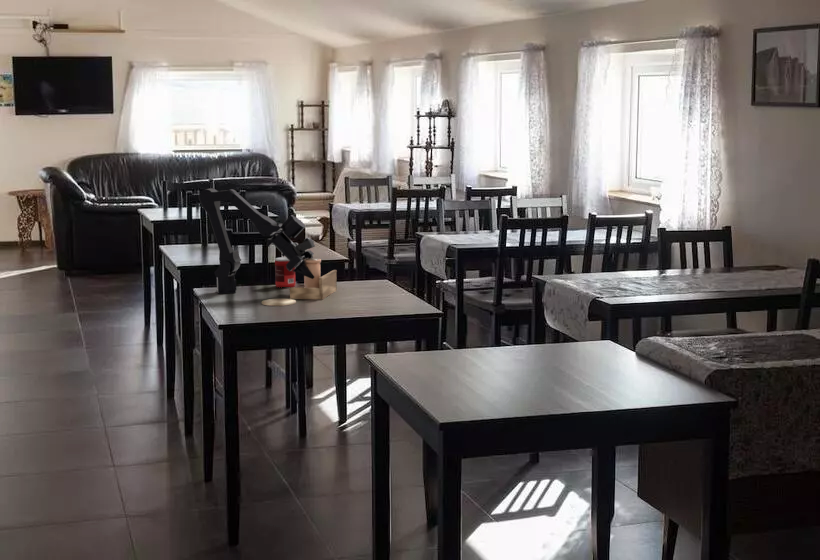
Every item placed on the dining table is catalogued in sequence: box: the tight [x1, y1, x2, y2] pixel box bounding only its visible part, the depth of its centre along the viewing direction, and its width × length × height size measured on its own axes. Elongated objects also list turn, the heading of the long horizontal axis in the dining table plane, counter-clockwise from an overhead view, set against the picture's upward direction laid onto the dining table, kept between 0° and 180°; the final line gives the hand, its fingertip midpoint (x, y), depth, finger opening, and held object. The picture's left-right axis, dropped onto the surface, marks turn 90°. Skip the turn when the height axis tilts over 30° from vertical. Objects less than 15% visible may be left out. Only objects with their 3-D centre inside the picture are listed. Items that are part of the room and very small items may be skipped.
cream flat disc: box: [261, 298, 297, 307], centre depth 390 cm, size 12×12×1 cm
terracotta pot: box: [303, 257, 322, 288], centre depth 408 cm, size 7×7×13 cm
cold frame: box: [289, 269, 338, 300], centre depth 408 cm, size 12×21×8 cm, turn 170°
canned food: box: [274, 256, 296, 289], centre depth 428 cm, size 8×8×11 cm
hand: (315, 276), depth 408 cm, fingers closed on terracotta pot, 6 cm apart
